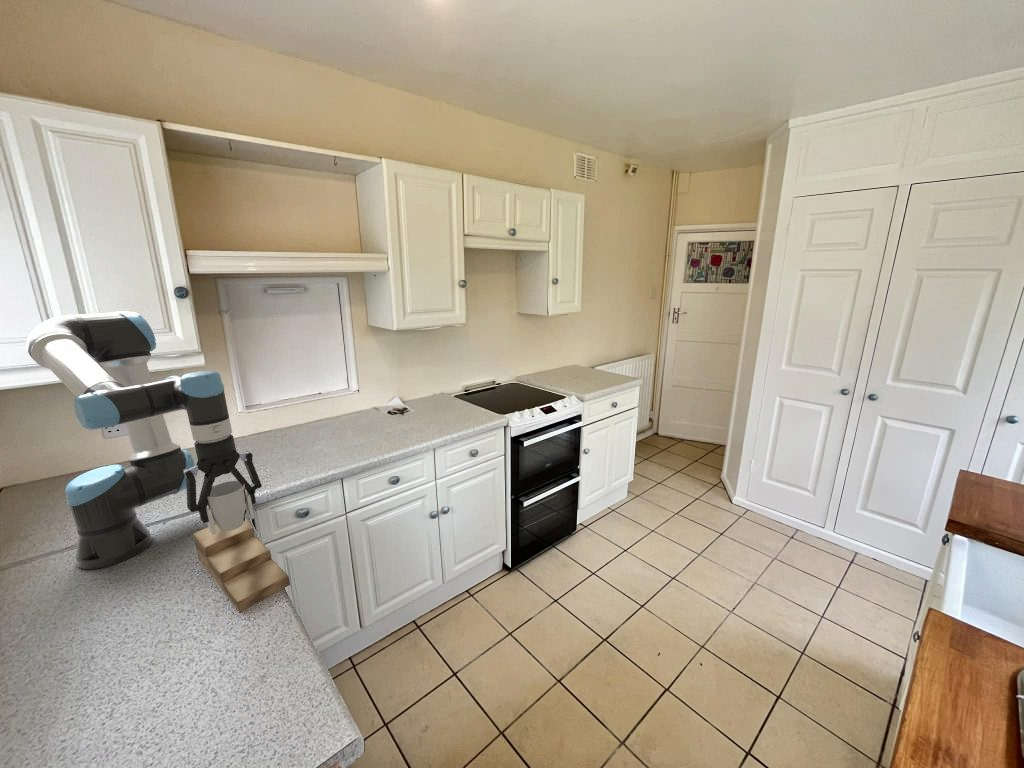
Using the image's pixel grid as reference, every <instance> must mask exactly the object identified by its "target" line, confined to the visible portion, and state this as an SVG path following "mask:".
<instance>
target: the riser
mask: <svg viewBox="0 0 1024 768" xmlns="http://www.w3.org/2000/svg"><path fill="white" fill-rule="evenodd" d="M214 525H215V529H216V534H214V535H212V534H211V532H210V531H209V528H208V527H206V528H203V529H201V530H198V531H195V532H192V536H193V539H194V543H195V548H196V553H197V556H198V559H199V560H200V562H201V563H202V565H203V566H204V567H205V568H206V570H207V571H208V573H209V574H210V575H211V577H212V578H213V579H214V581H215V582H216V584H217V585H218V587H220V589H221V590H222V592H223V593H224V594H225V595H226V597H227V598H228V599H229V601H230V602H231V604H232V605H233V606H234V608H235V609H236V610H237V611H238V613H241V612H243V611H245V610H246V609H248V608H251V607H253V606H254V605H255V604H257V603H259V602H261V601H263V600H265V599H267V598H269V597H270V596H273V595H274V594H276V593H278V592H279V591H281V590H283V589H285V588H287V587H289V586H291V581H290V576H289V575H288V573H286V572H285V571H284V570H283V569H282V568H281V566H279V564H277V562H275V560H273V559H272V554H271V550H270V549H269V548H268V547H267V546H266V545H265V544H264V543H263V542H262V541H261V540H260V539H259V538H258V537H257V536H255V535H256V534H255V531H254V527H253V526H252V525H251V523H249V522H248V521H247V520H246V519H245V523H244V524H243V525H242V526H241V527H239V528H237V529H234V530H231V531H222V530H221V529H220V528H219V527H218V525H217V524H216V523H215V524H214Z"/></svg>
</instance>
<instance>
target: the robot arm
mask: <svg viewBox="0 0 1024 768" xmlns="http://www.w3.org/2000/svg"><path fill="white" fill-rule="evenodd" d="M155 336H156V335H155V334H154V331H153V330H152V327H151V326H150V324H149V323H148V321H147V320H146V319H145V318H144V317H143V316H142V315H140V314H139V313H137V312H134V311H133V312H132V311H114V312H113V311H112V312H110V311H109V312H98V313H97V312H96V313H86V314H84V313H83V314H68V315H67V314H66V315H60V316H56V317H52V318H50V319H46V320H45V321H43V322H41V323H40V324H38V325H37V326H36V327H35V328H34V329H33V330H32V331H31V332H30V334H29V336H28V337H27V341H26V349H27V353H28V355H29V356H30V358H31V359H32V360H33V361H34V362H35V363H36V364H37V365H39V366H40V367H42V368H45V369H49V370H50V371H51V372H52V374H54V375H55V376H56V377H57V379H59V381H61V383H62V384H64V386H65V387H66V388H67V389H68V390H70V392H71V393H72V394H73V395H74V396H75V398H74V399H73V409H74V412H75V415H76V419H77V420H78V421H79V423H80V425H81V426H82V428H84V429H85V430H89V431H92V430H99V429H104V428H113V427H115V426H117V425H122V424H124V425H125V429H126V433H127V435H128V437H129V441H130V443H131V444H130V445H131V447H132V450H133V453H132V454H131V456H130V457H129V458H128V461H129V464H130V466H126V467H123V465H121V464H109V465H104V466H101V467H96V468H94V469H91V470H88V471H86V472H84V473H82V474H80V475H78V476H77V477H75V478H73V479H72V480H71V481H70V482H68V483H67V485H66V486H65V496H66V497H65V498H66V504H67V506H68V507H69V511H70V513H71V515H72V516H71V517H72V518H73V522H74V525H75V529H76V532H77V535H78V538H77V539H78V540H77V543H76V544H77V545H76V552H75V561H76V564H77V567H78V568H80V569H84V570H95V569H103V568H106V567H110V566H113V565H116V564H120V563H122V562H124V561H127V560H129V559H130V558H133V557H135V556H137V555H139V554H140V553H141V552H143V551H144V550H145V549H146V548H148V547H149V546H150V544H151V543H152V540H153V538H152V535H151V534H152V533H151V531H150V530H149V528H147V526H146V525H145V524H144V523H143V522H142V521H141V520H140V519H139V518H138V515H137V512H136V509H137V508H140V507H142V506H144V505H148V504H149V503H152V502H156V501H158V500H161V499H163V498H167V497H169V496H172V495H177V494H178V493H180V492H182V491H184V490H186V507H187V509H188V510H189V511H190V512H191V513H194V512H198V514H199V517H200V521H201V522H203V524H206V523H207V528H209V531H210V532H211V534H212V535H214V534H216V529H215V525H216V524H215V521H214V519H213V516H212V512H211V509H210V508H209V507H208V498H207V497H208V496H209V497H210V493H211V489H212V487H213V486H214V483H215V480H216V478H218V477H221V476H223V475H228V474H232V476H233V477H234V478H235V479H236V481H238V482H239V483H240V484H241V485H242V486H243V484H245V492H246V516H247V517H248V518H249V519H251V520H254V519H255V518H256V517H255V512H254V507H253V505H255V504H256V502H257V501H256V490H258V489H261V487H262V483H261V480H260V478H259V475H258V473H257V469H256V467H255V465H254V462H253V455H254V454H253V453H251V452H250V451H249V450H245V451H243V452H238V451H237V447H236V444H235V438H234V435H233V429H232V424H231V420H230V414H229V410H228V404H227V400H226V399H227V398H226V395H225V394H226V393H225V385H224V383H223V381H222V378H221V374H220V373H219V372H217V371H214V370H201V371H199V370H198V371H193V372H188V373H185V374H183V375H171V376H167V377H165V378H164V379H163V380H160V381H153V379H152V375H151V373H150V369H149V367H148V362H149V360H151V358H152V353H151V352H153V351H155V349H156V348H157V343H156V341H157V340H156V337H155ZM182 410H185V411H186V414H187V418H188V419H187V420H188V423H189V426H190V427H189V428H190V432H191V436H192V439H193V441H194V448H195V454H196V458H197V461H196V465H195V461H194V458H193V457H192V454H191V452H189V451H188V450H186V449H182V448H181V446H180V444H177V443H174V442H173V441H172V439H171V435H170V431H169V429H168V425H167V423H166V419H165V417H164V415H165V414H169V413H173V412H177V411H182ZM239 459H240V460H241V461H242V462H243V464H244V465H245V468H246V471H247V473H248V476H249V479H250V480H251V483H252V484H250V483H249V482H248V481H247V479H246V478H245V477H244V476H243V474H241V473H240V471H239V470H238V468H236V465H237V463H238V461H239ZM198 471H201V472H203V473H204V475H203V482H202V487H201V491H200V494H199V498H198V501H197V480H196V477H197V476H198Z"/></svg>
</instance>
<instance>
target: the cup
mask: <svg viewBox="0 0 1024 768" xmlns="http://www.w3.org/2000/svg"><path fill="white" fill-rule="evenodd" d="M246 492H247V491H246V490H245V484H243V486H242V485H241V484H240V483H239V482H238V480H229V481H225V482H220V483H218V484H215V485H212V489H211V493H210V497H209V496H208V497H207V498H208V505H207V506H208V507H209V508H210V509H211V512H212V516H213V521H214V524H215V525H216V524H217V525H218V527H219V528H220V529H221V530H222V531H231V530H234V529H237V528H239V527H241V526H242V525H243V524H244V523H245V520H246V518H247V517H246V516H247V511H246Z"/></svg>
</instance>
